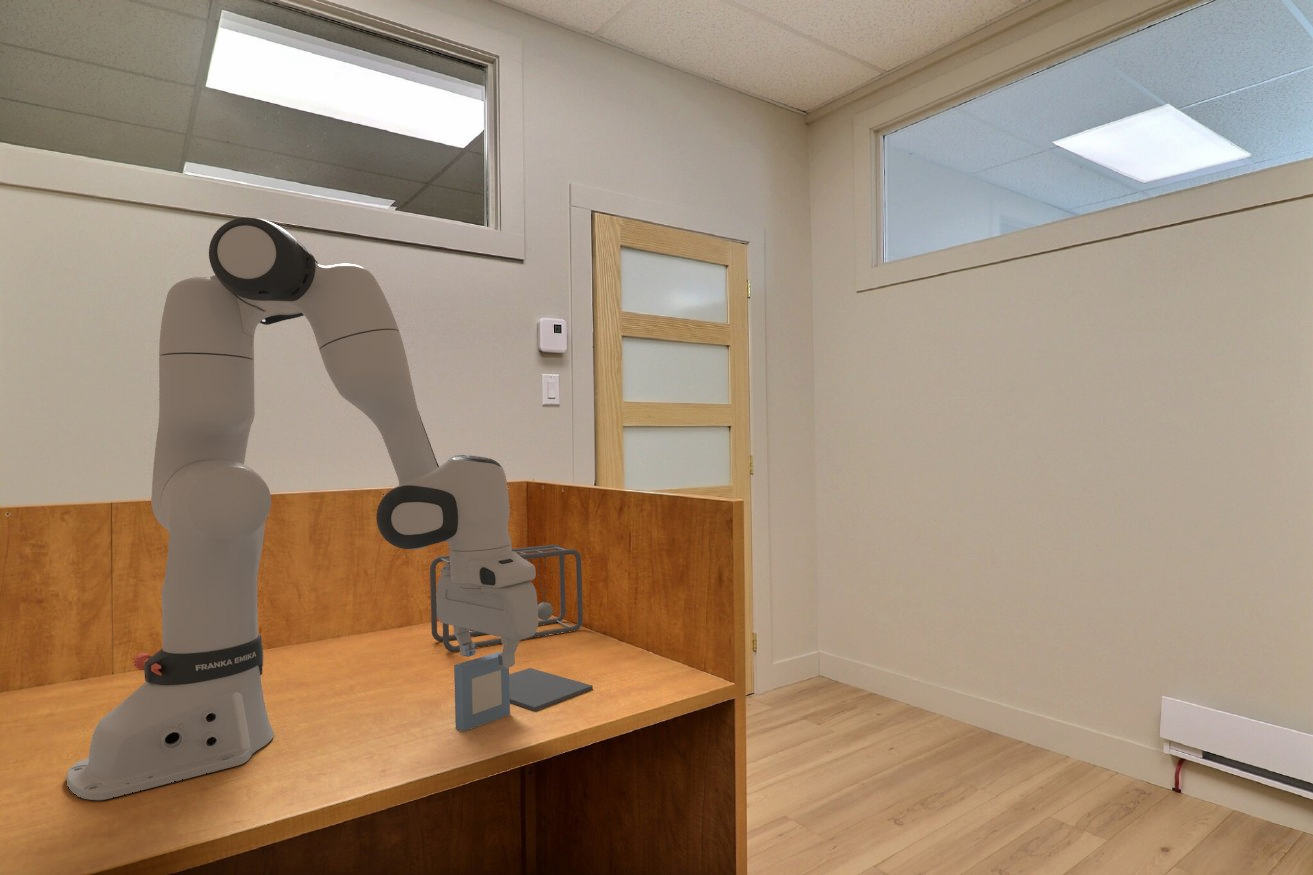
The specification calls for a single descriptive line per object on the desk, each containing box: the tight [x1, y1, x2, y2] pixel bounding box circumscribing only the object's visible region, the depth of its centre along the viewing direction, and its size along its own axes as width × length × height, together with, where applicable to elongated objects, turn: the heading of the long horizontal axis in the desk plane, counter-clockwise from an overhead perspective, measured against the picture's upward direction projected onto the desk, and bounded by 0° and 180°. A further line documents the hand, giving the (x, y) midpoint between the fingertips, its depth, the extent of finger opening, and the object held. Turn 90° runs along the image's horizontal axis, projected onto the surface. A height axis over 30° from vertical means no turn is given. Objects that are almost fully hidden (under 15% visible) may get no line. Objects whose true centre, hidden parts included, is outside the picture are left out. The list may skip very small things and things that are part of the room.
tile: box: [453, 651, 511, 733], centre depth 103 cm, size 2×8×9 cm, turn 139°
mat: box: [509, 667, 594, 712], centre depth 116 cm, size 12×16×1 cm
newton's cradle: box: [429, 544, 584, 653], centre depth 151 cm, size 30×10×18 cm, turn 121°
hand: (486, 660), depth 104 cm, fingers open, 8 cm apart
